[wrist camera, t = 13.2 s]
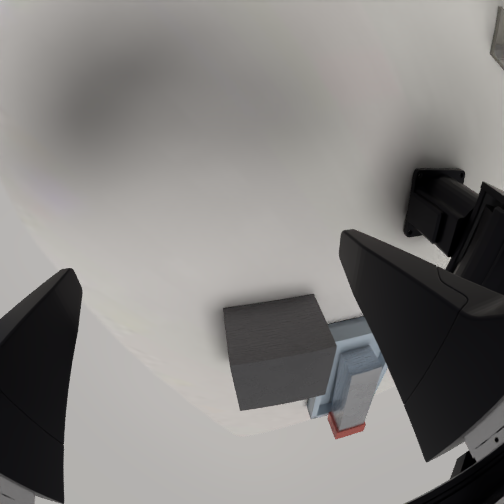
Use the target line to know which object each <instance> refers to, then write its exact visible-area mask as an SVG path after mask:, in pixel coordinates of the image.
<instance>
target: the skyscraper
mask: <svg viewBox="0 0 504 504" xmlns="http://www.w3.org/2000/svg"><path fill="white" fill-rule="evenodd" d="M490 54H491V55H492V57H493V58H494V59H495V60H496V61H497V62H498V63H499V65H500V66H501V67H502V68H503V69H504V9H503V8H502V7H499V8H498V15H497V21H496V27H495V33H494V38H493V43H492V48H491V52H490Z"/></svg>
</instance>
